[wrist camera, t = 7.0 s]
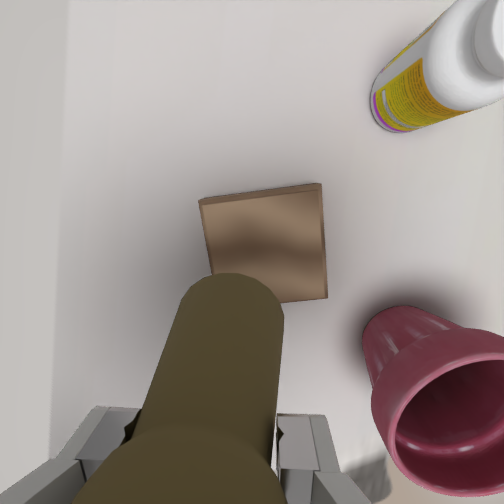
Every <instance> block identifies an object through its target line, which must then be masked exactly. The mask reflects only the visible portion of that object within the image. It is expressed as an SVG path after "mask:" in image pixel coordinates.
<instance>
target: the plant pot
mask: <svg viewBox="0 0 504 504" xmlns="http://www.w3.org/2000/svg"><path fill="white" fill-rule="evenodd" d="M362 347H363V351H364V355H365V360H366V365H367V369H368V373H369V377H370V381H371V385H372V388H373V391H372V396H371V411H372V416H373V419H374V422H375V424H376V427H377V429H378V431H379V433H380V435H381V438H382V440H383V442H384V444H385V446H386V448H387V450H388V452H389V454H390V456H391V458H392V460H393V461H394V463H395V465H396V466H397V467H398V468H399V470H400V471H401V472H402V473H403V474H404V475H405V476H406V477H407V478H408V479H410V480H411V481H413V482H414V483H416V484H417V485H419V486H421V487H423V488H425V489H427V490H430V491H433V492H436V493H440V494H445V495H450V496H459V497H480V496H487V495H493V494H497V493H501V492H504V337H502V336H500V335H497V334H495V333H492V332H489V331H484V330H480V329H471V328H463V327H461V326H458V325H456V324H454V323H452V322H450V321H447V320H445V319H443V318H440V317H438V316H435V315H433V314H430V313H428V312H426V311H423V310H421V309H418V308H416V307H412V306H396V307H391V308H388V309H386V310H384V311H382V312H380V313H378V314H377V315H376V316H374V317H373V318H372V319H371V320H370V321H369V323H368V324H367V326H366V328H365V330H364V332H363V336H362Z"/></svg>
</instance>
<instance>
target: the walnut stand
mask: <svg viewBox="0 0 504 504" xmlns="http://www.w3.org/2000/svg"><path fill="white" fill-rule="evenodd" d="M198 203H199V208H200V213H201V219H202V224H203V230H204V235H205V240H206V246H207V251H208V256H209V262H210V267H211V272H212V275H215V274H218V273H240V274H243V275H246V276H249V277H252V278H255V279H257V280H258V281H260V282H261V283H263V284H264V285H265V286H267V287H268V288H270V290H271V291H272V292H273V294H274V295H275V296H276V298H277V299H278V300H279V302H280V303H287V302H297V301H307V300H316V299H326V298H328V288H327V271H326V254H325V237H324V220H323V203H322V186H321V184H319V183H312V184H305V185H298V186H290V187H283V188H275V189H268V190H261V191H253V192H246V193H239V194H231V195H224V196H216V197H209V198H204V199H201V200H198Z"/></svg>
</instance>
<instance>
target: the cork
mask: <svg viewBox="0 0 504 504" xmlns="http://www.w3.org/2000/svg"><path fill="white" fill-rule="evenodd" d="M283 332H284V314H283V311H282V308H281V305H280V302H279V300H278V299H277V298H276V296H275V295H274V294H273V292H272V291H271V290H270V288H268V287H267V286H265V285H264V284H263V283H261V282H260V281H258V280H257V279H255V278H252V277H249V276H246V275H243V274H240V273H218V274H215V275H211V276H208V277H204V278H203V279H201V280H200V281H198V282H197V283H195V284H194V285H193V286H191V287H190V288H189V290H188V291H187V293H186V294H185V295H184V297H183V298H182V300H181V302H180V305H179V308H178V311H177V314H176V316H175V319H174V322H173V325H172V327H171V330H170V333H169V336H168V338H167V341H166V344H165V347H164V349H163V352H162V355H161V358H160V360H159V363H158V366H157V369H156V371H155V374H154V377H153V380H152V382H151V385H150V388H149V391H148V393H147V396H146V399H145V402H144V404H143V407H142V410H141V413H140V416H139V418H138V421H137V424H136V427H135V429H134V432H133V435H132V438H131V440H130V441H128V442H126V443H125V444H123V445H121V446H120V447H118V448H116V449H115V450H113V451H112V452H111V453H110V454H109V456H108V457H107V458H106V459H105V460H104V461H103V463H102V464H101V465H100V466H99V467H98V468H97V470H96V471H95V472H94V473H93V474H92V475H91V477H90V478H89V479H88V480H87V482H86V483H85V484H84V486H83V487H82V488H81V489H80V491H79V492H78V493H77V494H76V496H75V497H74V499H73V501H72V502H71V504H288V502H287V499H286V496H285V494H284V491H283V489H282V487H281V484H280V482H279V479H278V477H277V476H276V474H275V473H274V471H273V470H272V469H271V459H272V449H273V438H274V428H275V417H276V406H277V396H278V385H279V375H280V364H281V353H282V343H283Z"/></svg>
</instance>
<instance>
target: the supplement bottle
mask: <svg viewBox="0 0 504 504" xmlns="http://www.w3.org/2000/svg"><path fill="white" fill-rule="evenodd" d="M503 97H504V0H457V1H456V2H455V3H453V4H452V5H451V6H450V7H449V8H448V9H447V10H446V11H445V12H443V13H442V14H441V15H440V16H439V17H438V18H437V19H436V20H435V21H434V22H433V23H432V24H431V25H430V26H429V27H427V28H426V29H425V30H424V31H423V32H422V33H421V34H420V35H419V36H418V37H417V38H415V39H414V40H413V41H412V42H411V43H410V44H409V45H408V46H407V47H406V48H404V49H403V50H402V51H401V52H400V53H399V54H398V55H397V56H396V57H395V58H394V59H393V60H391V61H390V62H389V63H388V64H387V65H386V66H385V67H384V68H383V70H382V71H381V72H380V74H379V75H378V77H377V78H376V80H375V82H374V85H373V88H372V92H371V109H372V113H373V115H374V117H375V119H376V121H377V122H378V123H379V124H380V125H381V126H382V127H383V128H385V129H387V130H389V131H392V132H398V133H404V132H410V131H413V130H416V129H419V128H422V127H425V126H428V125H431V124H434V123H437V122H440V121H443V120H446V119H449V118H452V117H455V116H458V115H461V114H464V113H467V112H470V111H473V110H476V109H479V108H482V107H485V106H488V105H490V104H492V103H494V102H496V101H498V100H500V99H501V98H503Z"/></svg>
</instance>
